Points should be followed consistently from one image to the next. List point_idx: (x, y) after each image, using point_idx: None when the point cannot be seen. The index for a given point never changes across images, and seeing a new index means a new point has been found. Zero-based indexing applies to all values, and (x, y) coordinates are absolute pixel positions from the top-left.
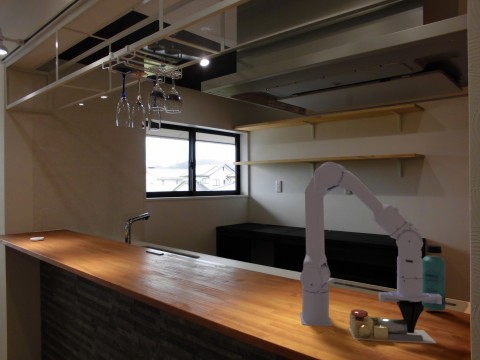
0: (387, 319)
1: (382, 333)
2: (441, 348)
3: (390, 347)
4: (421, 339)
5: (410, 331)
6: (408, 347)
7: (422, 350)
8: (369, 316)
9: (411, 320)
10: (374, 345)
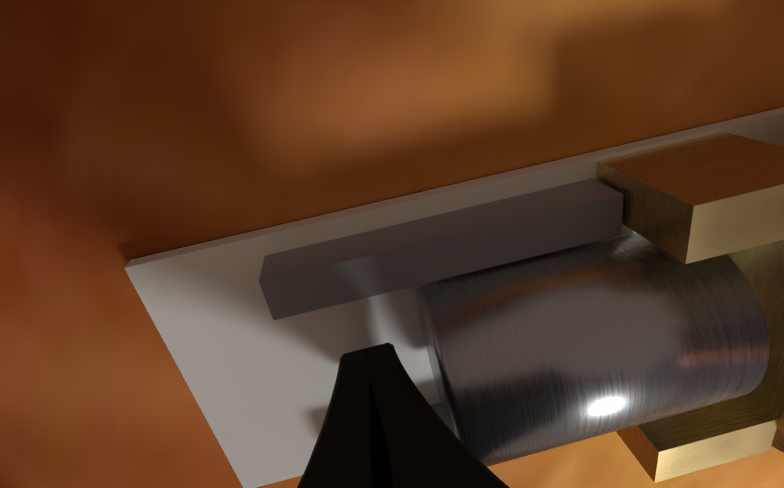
0: (674, 384)
1: (701, 169)
2: (80, 189)
3: (599, 33)
4: (275, 262)
5: (375, 353)
6: (417, 97)
7: (281, 60)
8: (743, 456)
9: (377, 463)
10: (739, 35)
